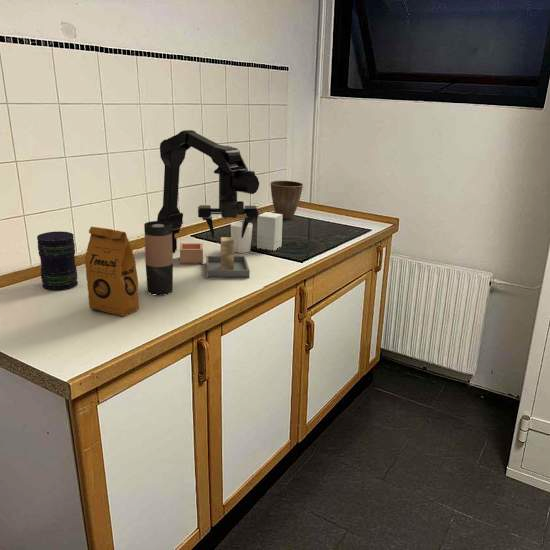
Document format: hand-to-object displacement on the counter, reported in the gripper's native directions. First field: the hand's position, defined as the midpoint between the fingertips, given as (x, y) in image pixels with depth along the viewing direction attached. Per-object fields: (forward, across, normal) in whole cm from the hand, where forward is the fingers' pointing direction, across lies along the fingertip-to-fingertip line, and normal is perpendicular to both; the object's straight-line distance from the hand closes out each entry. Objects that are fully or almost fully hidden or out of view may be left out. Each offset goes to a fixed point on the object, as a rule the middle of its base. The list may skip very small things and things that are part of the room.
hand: (227, 237), depth 171 cm
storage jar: (+11, -50, -12) cm, 52 cm away
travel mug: (+11, -21, -18) cm, 29 cm away
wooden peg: (+10, 0, 0) cm, 10 cm away
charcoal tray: (+11, 0, 0) cm, 11 cm away
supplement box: (+11, +17, +26) cm, 33 cm away
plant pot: (+11, +31, +74) cm, 81 cm away
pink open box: (+11, -12, +11) cm, 19 cm away
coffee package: (+11, -32, -31) cm, 46 cm away
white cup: (+11, +6, +22) cm, 26 cm away
